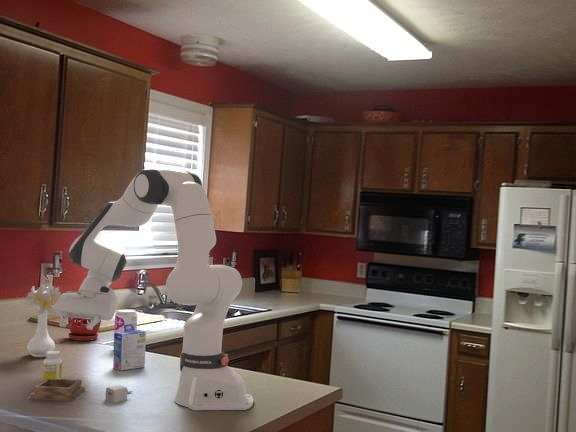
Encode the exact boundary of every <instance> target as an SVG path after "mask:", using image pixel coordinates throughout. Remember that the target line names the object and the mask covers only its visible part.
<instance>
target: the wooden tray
mask: <svg viewBox="0 0 576 432" xmlns="http://www.w3.org/2000/svg"><path fill="white" fill-rule="evenodd" d="M33 388H34V391H32V392H31V393H30V395H31V396H30V395H29V396H30V398H37V399H36V400H42V399H56V400H55V401H61V400H75V399H76V398H77V397H78V396H79V395H80V394H82V393H83V392H84V391H86V390H85V386H82V379H75V378H74V379H71V378H62V379H55V378H47V379H45V380H44V381H43V380H41V382H40V383H38V384H36V385H35V386H34V387H33Z"/></svg>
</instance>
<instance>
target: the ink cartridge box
mask: <svg viewBox="0 0 576 432" xmlns="http://www.w3.org/2000/svg"><path fill="white" fill-rule="evenodd" d="M128 326H130V327H132V328H131V329H126V327H128ZM124 330H125V332H117V333H114V332H113V366H112V367H113V369H114V370H116V371H117V370H118V371H119V372H120V371H127V370H133V369H139V368H140V369H141V368H145V366H146V343H147V339H146V338H147V332H146V331H143V330H141V329H137V330H134V327H133V324H129V325H124Z"/></svg>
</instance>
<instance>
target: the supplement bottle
mask: <svg viewBox="0 0 576 432" xmlns="http://www.w3.org/2000/svg"><path fill="white" fill-rule="evenodd" d="M60 357H61V351H59V350H53V351H48V352H46V357H45V359H44V360H43V362H42V363H43V366H42V367H43V368H42V381H44V380H45V379H47V378H55V379H63V377H62V376H63V360H62V358H60Z"/></svg>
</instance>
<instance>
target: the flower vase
mask: <svg viewBox="0 0 576 432" xmlns="http://www.w3.org/2000/svg"><path fill="white" fill-rule="evenodd" d="M61 295H62V293H61V291H60V286H59V285H58V286H57V287H55V286H53V285H50V286H49V287H46V285H45V284H43V283H41V284H40V286H39V287H37V289H36V290H35V287H34V285H32V287H31V289H30V291H29V292H28V293H27V295H26V297H25V302H24V303H23V305H26V304H27V303H28V304H27V306H28V307H32V306H34V305H35V306H37V310H38V311H37V313H38V314H37V325H36V326H37V327H36V331H35V334H34V335H33V337H32V338H31V339H30V340H29V341H28V343H27V345H26V347H27V350H28V352H29V353H30V354H31V357H33V356H34V358H47V357H46V352H48V351H55V348H56V345H55V343H56V342H55V341H54V339H53V338H51V336H50V334H49V332H48V313H49V314H52V315H53V314H55V312H54V310H53V306H54V305H55V304H56V302H57V301H58V299H59V298H60V297H61Z"/></svg>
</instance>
